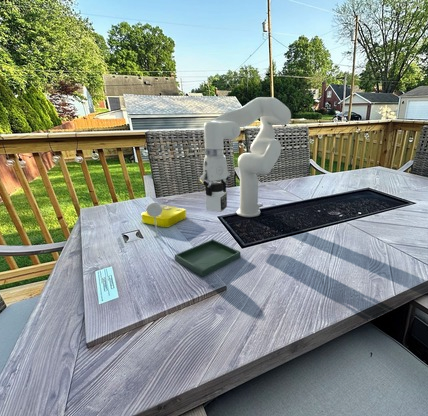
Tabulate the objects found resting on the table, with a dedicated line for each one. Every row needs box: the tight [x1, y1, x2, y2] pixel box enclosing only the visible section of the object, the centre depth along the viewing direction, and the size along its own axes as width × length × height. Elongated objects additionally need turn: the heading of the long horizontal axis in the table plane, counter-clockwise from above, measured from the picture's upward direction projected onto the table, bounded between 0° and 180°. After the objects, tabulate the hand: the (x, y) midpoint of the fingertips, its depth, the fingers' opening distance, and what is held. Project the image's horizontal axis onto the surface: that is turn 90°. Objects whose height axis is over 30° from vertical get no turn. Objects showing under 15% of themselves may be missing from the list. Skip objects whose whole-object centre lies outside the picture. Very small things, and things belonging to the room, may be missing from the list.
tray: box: [174, 238, 242, 278], centre depth 94 cm, size 17×15×2 cm
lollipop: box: [145, 201, 162, 238], centre depth 105 cm, size 6×6×15 cm
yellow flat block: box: [141, 204, 187, 228], centre depth 124 cm, size 15×15×5 cm
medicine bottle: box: [205, 181, 228, 213], centre depth 115 cm, size 7×7×12 cm
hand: (216, 193), depth 115 cm, fingers closed on medicine bottle, 7 cm apart
